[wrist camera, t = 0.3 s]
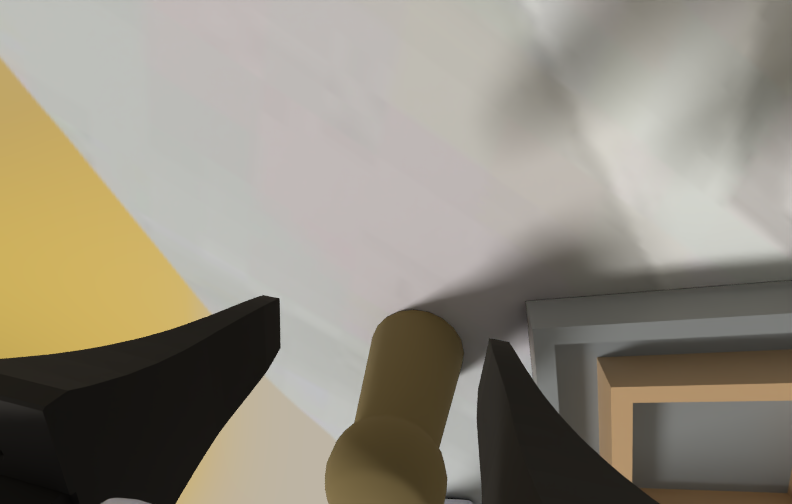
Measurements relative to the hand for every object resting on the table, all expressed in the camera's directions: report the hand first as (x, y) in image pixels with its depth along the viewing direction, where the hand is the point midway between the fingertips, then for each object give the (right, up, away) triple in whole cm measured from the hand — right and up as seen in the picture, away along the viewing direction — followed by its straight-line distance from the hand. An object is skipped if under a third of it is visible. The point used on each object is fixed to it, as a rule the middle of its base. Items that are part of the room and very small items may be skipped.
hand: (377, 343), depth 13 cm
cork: (+2, -3, +12) cm, 13 cm away
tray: (+18, -7, +10) cm, 22 cm away
